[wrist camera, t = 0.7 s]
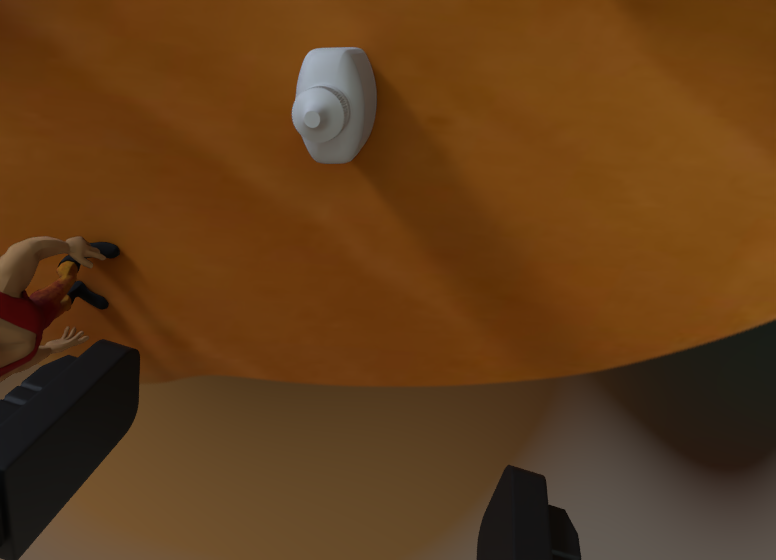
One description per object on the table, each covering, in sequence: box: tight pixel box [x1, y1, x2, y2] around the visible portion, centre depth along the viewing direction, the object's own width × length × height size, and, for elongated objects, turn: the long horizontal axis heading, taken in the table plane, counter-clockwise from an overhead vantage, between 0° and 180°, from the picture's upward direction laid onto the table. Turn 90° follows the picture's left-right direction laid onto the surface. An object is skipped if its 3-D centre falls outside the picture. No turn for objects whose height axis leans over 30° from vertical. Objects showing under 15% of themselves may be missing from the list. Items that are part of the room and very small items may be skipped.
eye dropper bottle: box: [292, 47, 377, 164], centre depth 30 cm, size 4×6×12 cm
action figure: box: [0, 236, 120, 382], centre depth 34 cm, size 9×4×15 cm, turn 159°
